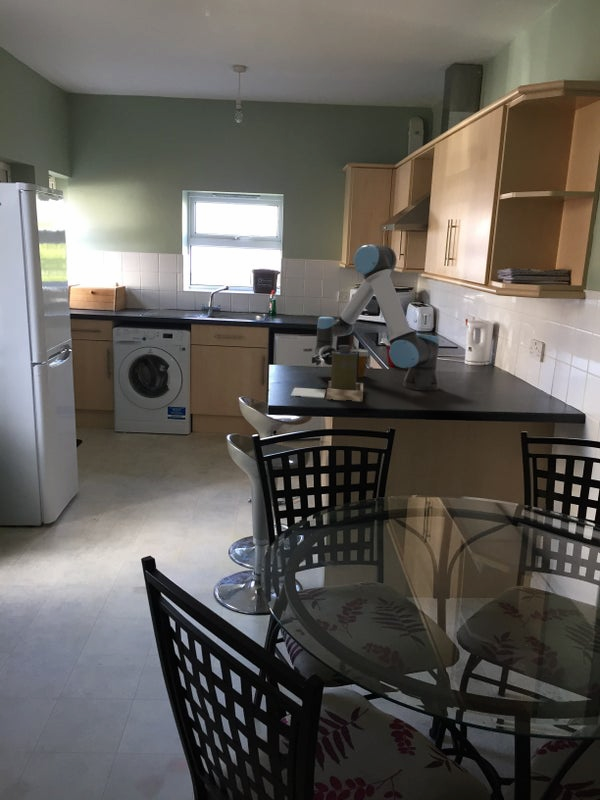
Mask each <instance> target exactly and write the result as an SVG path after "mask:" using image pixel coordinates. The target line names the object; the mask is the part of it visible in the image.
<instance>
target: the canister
mask: <svg viewBox="0 0 600 800" xmlns="http://www.w3.org/2000/svg"><path fill="white" fill-rule="evenodd" d="M337 347H338V348H339V350H336V351H332V365H331V373H330V374H331V375H330V377H331V380H330V381H331V389H341V390H356V383H357V379H359V377H358V366H359V352H358V351H351V350H350V349H351V347H350V345H348V344H343V345H342V344H340V345H338V346H337Z"/></svg>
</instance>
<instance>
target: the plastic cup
mask: <svg viewBox="0 0 600 800" xmlns="http://www.w3.org/2000/svg"><path fill="white" fill-rule="evenodd" d="M384 345H385V348H386V355H387V356H386V357H387V365H388V366H389V367H397V368H399V367H398V366H396V365H395V364H394V363H393V362H392V361H391V359H390V356H389V350H390V346H391V345H390V343H389V341H386V342H384Z"/></svg>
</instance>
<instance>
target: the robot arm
mask: <svg viewBox="0 0 600 800" xmlns="http://www.w3.org/2000/svg"><path fill="white" fill-rule="evenodd" d="M397 260H398V259H397V254H396V252H395V251H394V249H392V248H391V247H390V246H387V245H375V244H365V245H362V246H360V247H359V248H358V249H357V250H356V252H355V255H354V256H353V266H354V268H355V270H356V271H357V272H358V273H360V274H361V275H363V278H364V279H363V281H362V282H361V283H360V285H359V287H358V288H357V290H356V292H355V293H354V294H353V296H352V297H351V299H350V300H349V301H348V303H347V305H346V306H345V307H344V309H343V311H342V312H341V313H340V315H339V317H338V318H337V319H336V320H335V318H334V317H332V316H319V317H318V318H317V325H316V342H315V343H316V345H315V346H314V348H313V349H314V354H315V355H314V356H312V357H311V364H315V366H320V367H322V368H325V365H328V366H332V351H337V349H335V348H334V338H337V337H346V336H348V335H350V334H352V333H353V332H354V330H355V325H354V324H355V323H356V321H357V320H358V319H359V318H360V316H361V314H362V313H363V311H364V310H365V309H366V307H367V306H368V304H369V303H370V301H371V300H372V298H373V297H374V296H375V299H376V301H377V304H378V307H379V309H380V313H381V314H382V317H383V318H384V322H385V324H386V326H387V329H388V332H389V335H390V338H389V339H388V342H389V343H390V345H391V346H390V350H389V356H390V359H391V361H392V362H393V363H394V364H395V365H396V366H398V367H397V368H402V369H408V370H407V373H406V375H405V377H404V380H403V387H404V388H406V389H411V390H415V391H424V390H428V391H427V392H429V391H437V390H439V387H440V383H439V378H438V373H437V366H438V365H437V363H438V354H439V347H440V339H439V337H438V336H437V335H429V334H421V333H417V332H416V330H415V329H413V328H411V327H410V324H409V321H408V320H407V316H406V314H405V311H404V308H403V307H402V303H401V301H400V298H399V296H398V294H397V291H396V288H395V286H394V283H393V280H392V278H391V275H392V273H393V272H394V271H395V268H396V265H397Z"/></svg>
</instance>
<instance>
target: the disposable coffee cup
mask: <svg viewBox="0 0 600 800" xmlns="http://www.w3.org/2000/svg"><path fill="white" fill-rule="evenodd" d="M350 350H351V351H358V352H359V366H358V378H363V377H364V375H365V371H366V365H367V360H368V357H369V350H368V349H363V348H350Z"/></svg>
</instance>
